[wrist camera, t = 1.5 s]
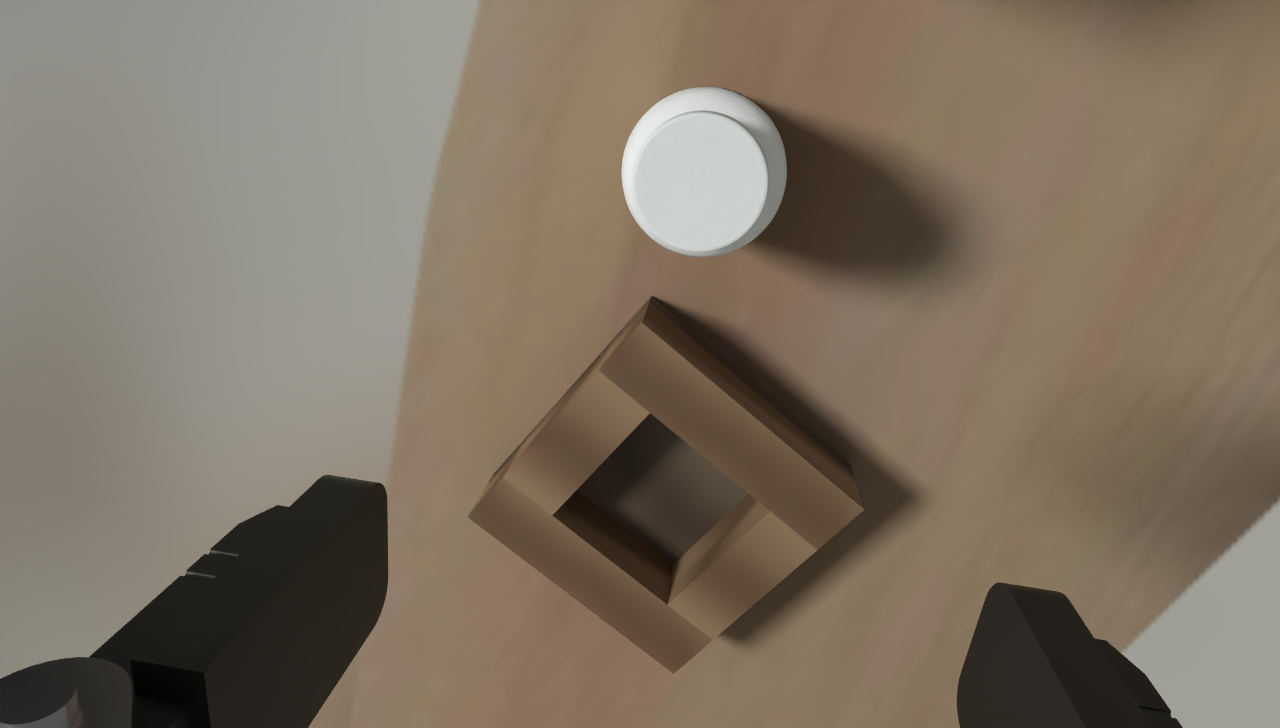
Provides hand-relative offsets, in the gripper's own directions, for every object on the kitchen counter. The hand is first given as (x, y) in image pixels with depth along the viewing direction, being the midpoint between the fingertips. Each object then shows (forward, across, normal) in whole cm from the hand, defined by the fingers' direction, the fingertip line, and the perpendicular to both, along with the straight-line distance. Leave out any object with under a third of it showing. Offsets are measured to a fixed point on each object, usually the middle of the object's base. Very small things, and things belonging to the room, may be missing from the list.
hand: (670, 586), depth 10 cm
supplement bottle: (+24, +1, -3) cm, 24 cm away
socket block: (+24, +1, +11) cm, 26 cm away
